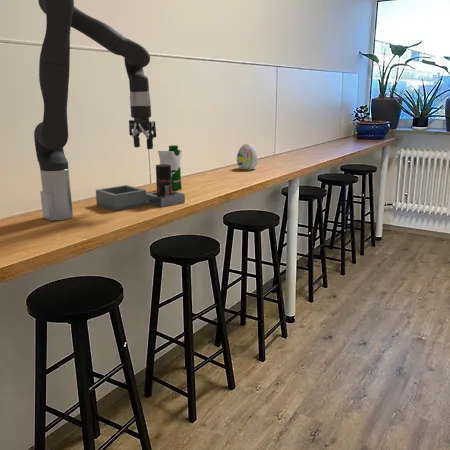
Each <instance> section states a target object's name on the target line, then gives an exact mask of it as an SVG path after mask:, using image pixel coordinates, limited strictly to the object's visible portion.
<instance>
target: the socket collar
mask: <svg viewBox="0 0 450 450" xmlns="http://www.w3.org/2000/svg"><path fill="white" fill-rule="evenodd" d="M185 195H186V194H185V193H182V192H178V191H172V195H169V196H163V197H162V196H158V195H157V190H156V191H151V192H146V200H147V204H150V205H153V206H155V207H156V206H157V207H160V208H163V207H170V206H174V205H178V204H183V203H186V199H185V198H186V197H185Z"/></svg>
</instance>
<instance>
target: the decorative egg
mask: <svg viewBox="0 0 450 450" xmlns="http://www.w3.org/2000/svg"><path fill="white" fill-rule="evenodd" d="M258 162H259V155H258V152H257V149H256V148H255V146H254V145H253V144H251V143H249V142H246V143H244V144H242V145H241V147H240V148H239V149H238V152H237V155H236V163H237V166H238V168H239V169H240V170H241V169H243V170H242V171H253V170H255V169H256V167H257V166H258ZM252 169H253V170H252Z"/></svg>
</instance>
